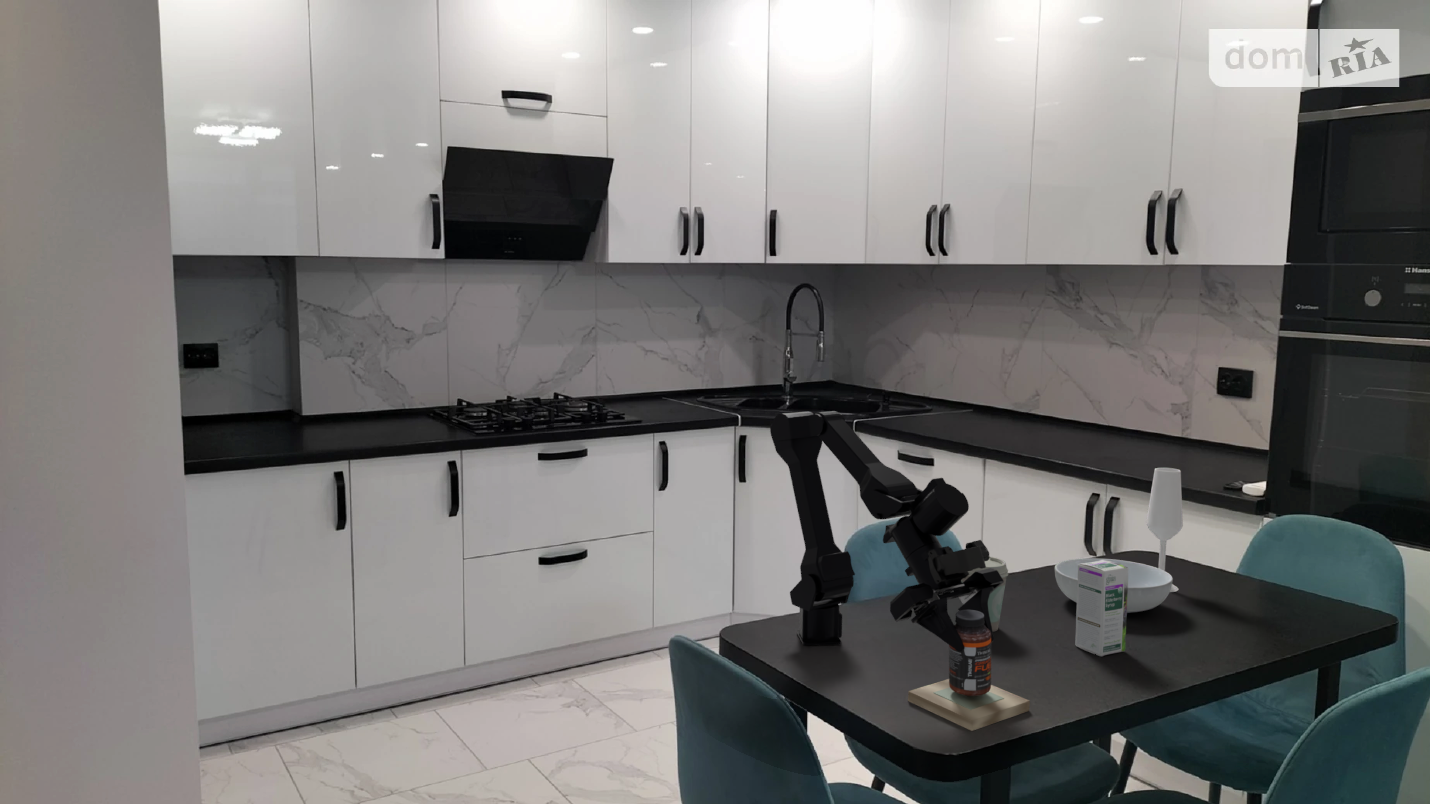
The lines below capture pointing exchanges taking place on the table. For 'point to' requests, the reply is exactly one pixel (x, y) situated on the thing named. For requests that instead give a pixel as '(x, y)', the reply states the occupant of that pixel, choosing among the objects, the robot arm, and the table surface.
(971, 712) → the board
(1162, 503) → the champagne flute
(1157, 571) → the serving bowl
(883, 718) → the table surface
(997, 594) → the coffee cup
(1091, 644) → the syrup box
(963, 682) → the supplement bottle
